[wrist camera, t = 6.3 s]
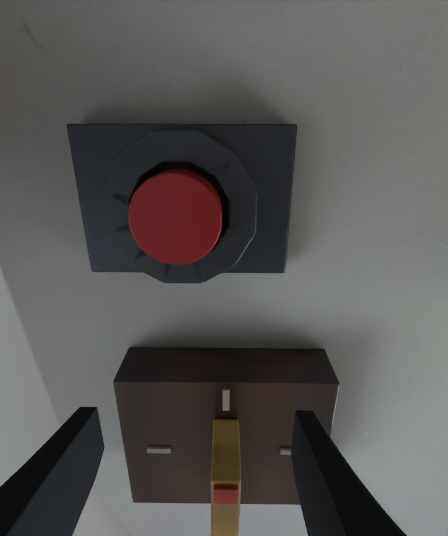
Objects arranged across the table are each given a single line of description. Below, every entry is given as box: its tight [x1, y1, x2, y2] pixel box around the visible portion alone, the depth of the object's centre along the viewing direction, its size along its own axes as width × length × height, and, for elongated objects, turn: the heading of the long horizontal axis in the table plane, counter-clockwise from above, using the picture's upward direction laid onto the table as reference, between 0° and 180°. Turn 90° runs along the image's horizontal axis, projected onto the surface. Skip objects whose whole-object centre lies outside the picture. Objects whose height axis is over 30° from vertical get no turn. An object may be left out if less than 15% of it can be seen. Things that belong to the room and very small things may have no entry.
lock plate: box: [113, 347, 340, 505], centre depth 20 cm, size 12×10×3 cm
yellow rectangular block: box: [211, 419, 241, 536], centre depth 17 cm, size 5×1×4 cm, turn 179°
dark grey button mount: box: [67, 124, 297, 283], centre depth 15 cm, size 10×7×3 cm
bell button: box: [128, 168, 222, 265], centre depth 13 cm, size 4×4×2 cm
